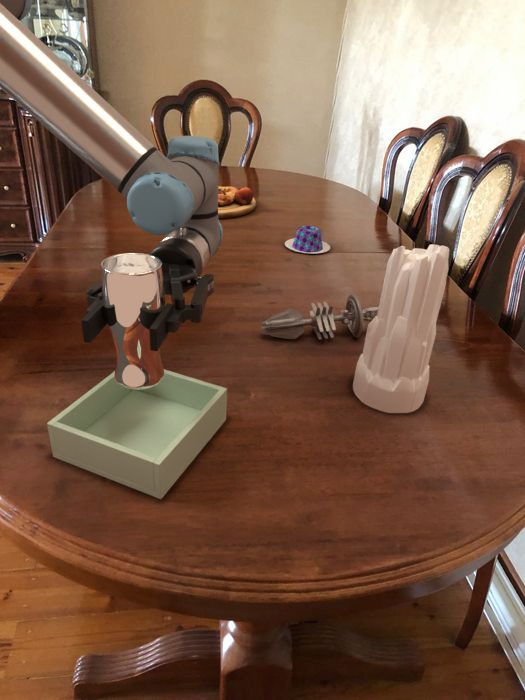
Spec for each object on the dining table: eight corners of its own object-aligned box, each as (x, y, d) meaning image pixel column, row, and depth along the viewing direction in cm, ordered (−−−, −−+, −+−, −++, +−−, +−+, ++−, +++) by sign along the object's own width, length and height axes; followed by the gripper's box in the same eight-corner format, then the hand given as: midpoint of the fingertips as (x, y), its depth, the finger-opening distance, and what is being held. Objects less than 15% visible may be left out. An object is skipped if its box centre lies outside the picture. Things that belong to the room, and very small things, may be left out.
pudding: (339, 252, 136) (342, 232, 134) (301, 258, 131) (304, 238, 128) (312, 238, 145) (314, 219, 142) (275, 243, 139) (277, 224, 137)
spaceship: (460, 306, 93) (443, 274, 97) (266, 331, 88) (257, 296, 92) (446, 333, 99) (430, 302, 104) (264, 358, 94) (256, 325, 99)
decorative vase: (341, 379, 84) (366, 227, 72) (398, 370, 88) (431, 223, 75) (376, 420, 76) (411, 255, 63) (437, 408, 79) (483, 249, 66)
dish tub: (53, 458, 65) (46, 423, 62) (132, 390, 78) (130, 358, 76) (161, 500, 60) (159, 464, 57) (226, 420, 73) (227, 388, 71)
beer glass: (176, 366, 68) (173, 256, 60) (154, 396, 62) (148, 278, 55) (126, 357, 69) (116, 248, 62) (100, 386, 63) (86, 269, 56)
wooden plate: (274, 205, 172) (276, 179, 168) (218, 227, 148) (218, 198, 144) (196, 187, 185) (195, 163, 181) (132, 205, 161) (131, 178, 157)
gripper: (110, 229, 76) (27, 294, 56) (246, 244, 74) (208, 315, 54) (115, 278, 80) (38, 354, 60) (243, 292, 78) (208, 376, 58)
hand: (119, 335), depth 57 cm, fingers closed on beer glass, 7 cm apart
